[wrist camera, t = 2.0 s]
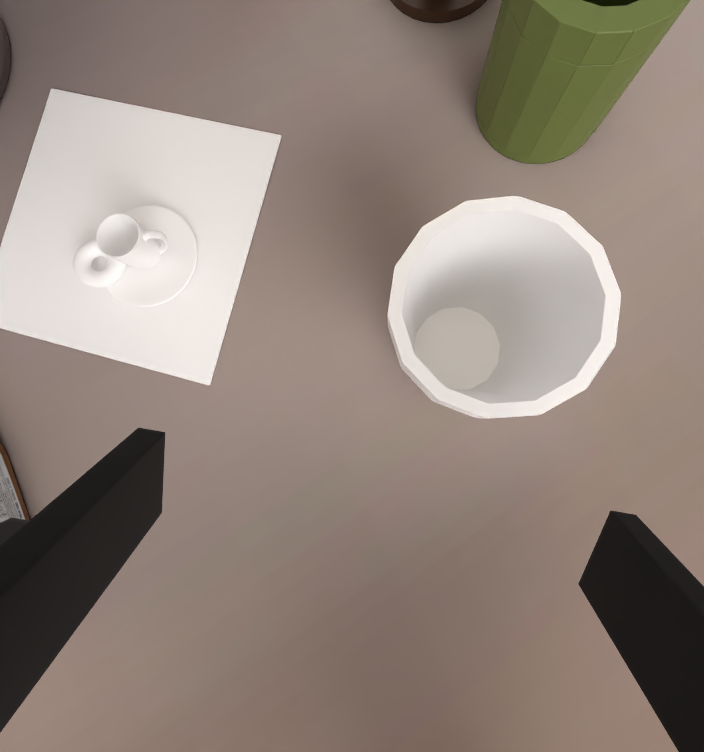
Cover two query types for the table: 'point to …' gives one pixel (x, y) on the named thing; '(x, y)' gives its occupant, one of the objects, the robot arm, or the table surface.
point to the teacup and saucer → (133, 232)
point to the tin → (10, 491)
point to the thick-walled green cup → (563, 70)
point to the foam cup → (503, 308)
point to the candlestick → (437, 9)
